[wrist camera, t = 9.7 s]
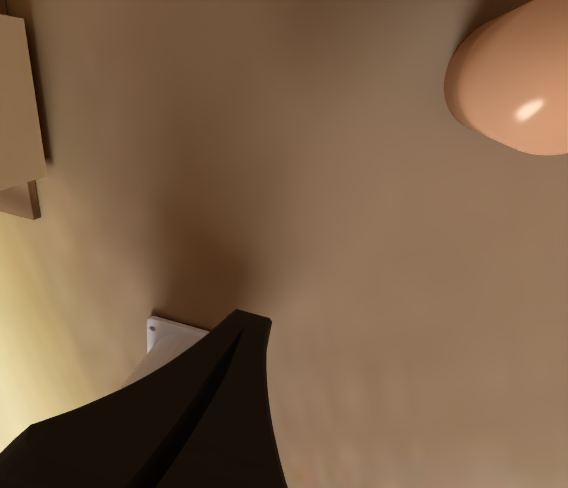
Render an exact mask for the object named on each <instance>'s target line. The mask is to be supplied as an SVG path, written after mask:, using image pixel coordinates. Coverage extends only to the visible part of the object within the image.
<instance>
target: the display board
mask: <svg viewBox="0 0 568 488" xmlns="http://www.w3.org/2000/svg"><path fill="white" fill-rule="evenodd" d="M0 14H2V15H7V9H6V3H5V0H0ZM7 16H8V15H7ZM0 211H1V212H5V213H9V214H13V215H17V216H20V217H24V218H28V219H32V220H35V219H37V218H40V217H41V216H40V210H39V204H38V198H37V192H36V186H35V180H33V181H30V182H27V183H23V184H20V185H17V186H13V187H10V188H7V189H3V190H0Z"/></svg>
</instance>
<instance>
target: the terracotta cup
mask: <svg viewBox="0 0 568 488" xmlns="http://www.w3.org/2000/svg"><path fill="white" fill-rule="evenodd" d="M444 95H445V100H446V104H447V106H448V108H449V110H450V112H451V114H452V115H453V116H454V118H455V119H456V120H457V121H458V122H460V123H461V124H462V125H464V126H465V127H467V128H469V129H471V130H474V131H476V132H478V133H480V134H483V135H485V136H487V137H489V138H492V139H494V140H496V141H498V142H501V143H503V144H505V145H507V146H510V147H512V148H514V149H517V150H519V151H522V152H525V153H529V154H535V155H558V154H565V153H568V0H533V1H531V2H529V3H526V4H524V5H522V6H520V7H518V8H516V9H514V10H512V11H510V12H508V13H506V14H503V15H501V16H499V17H497V18H495V19H493V20H491V21H489V22H487V23H485V24H483V25H482V26H480V27H478V28H477V29H476V30H475V31H473V32H472V33H471V34H470V35H469V36H468V37H467V38H465V40H464V41H463V42H462V43H461V44H460V45H459V47H458V48H457V50H456V51H455V53H454V54H453V56H452V58H451V60H450V62H449V65H448V67H447V71H446V74H445V80H444Z"/></svg>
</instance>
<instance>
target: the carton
mask: <svg viewBox="0 0 568 488" xmlns="http://www.w3.org/2000/svg"><path fill="white" fill-rule="evenodd" d="M43 177H47V172H46V165H45V158H44V151H43V145H42V138H41V131H40V125H39V118H38V111H37V105H36V98H35V91H34V85H33V78H32V71H31V64H30V58H29V51H28V44H27V38H26V31H25V24H24V19H23V18H18V17H12V16H7V15H2V14H0V190H3V189H7V188H10V187H13V186H17V185H20V184H23V183H27V182H30V181H33V180H37V179H40V178H43Z"/></svg>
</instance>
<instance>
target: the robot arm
mask: <svg viewBox="0 0 568 488" xmlns="http://www.w3.org/2000/svg"><path fill="white" fill-rule="evenodd" d="M271 325H272V321H271V320H270V318H267V317H263V316H260V315H256V314H252V313H249V312H245V311H242V310H238V309H236V310H234V311H233V312H232V313H231V314H230V315H228V316H227V317H226V318H225V319H224V320H223V321H222V322H221V323H220V324H218V325H217V326H216V327H215V328H214V329H213V330H211V331H210V332H209V331H206V330H202V329H199V328H195V327H192V326H188V325H185V324H181V323H178V322H174V321H171V320H167V319H164V318H160V317H157V316H151V317H150V318H149V319H148V320H147V355H146V356H145V357H144V359H143V360H142V361H141V362H140V364H139V365H138V366H137V367H136V369H135V370H134V371H133V372H132V374H131V375H130V376H129V377H128V379H127V380H126V381H125V383H124V384H123V385H122V386H121V388H120V389H119V390H118V391H116V392H114V393H112V394H109V395H107V396H105V397H103V398H100V399H98V400H96V401H93V402H91V403H89V404H87V405H84V406H82V407H79V408H77V409H74V410H72V411H69V412H66V413H63V414H61V415H58V416H55V417H52V418H49V419H46V420H44V421H41V422H38V423H35V424H32V425H30V426H29V427H28V428H27V429H26V430H24V431H23V432H22V433H21V434H20V435H19V436H18V437H16V438H15V439H14V440H13V441H12V442H11V443H10V444H9V445H8V446H7V447H6V448H5V449H4V450H3V451H2V452H1V453H0V488H288V487H287V484H286V481H285V477H284V473H283V470H282V466H281V462H280V458H279V454H278V449H277V445H276V440H275V436H274V431H273V426H272V420H271V414H270V407H269V399H268V389H267V373H266V351H267V345H268V340H269V335H270V330H271ZM154 327H155V328H154Z"/></svg>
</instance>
